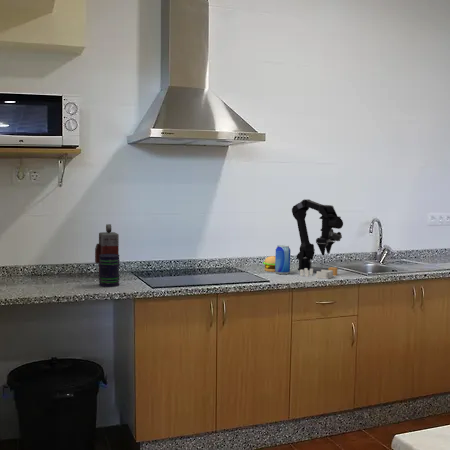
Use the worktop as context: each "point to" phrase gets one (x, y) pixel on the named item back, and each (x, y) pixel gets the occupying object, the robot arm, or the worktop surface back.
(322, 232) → the robot arm
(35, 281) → the worktop surface
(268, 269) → the hamburger
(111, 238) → the thermos flask
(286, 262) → the beer can
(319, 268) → the stamp-like rod
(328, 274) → the cream arch-shaped block
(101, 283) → the storage jar
